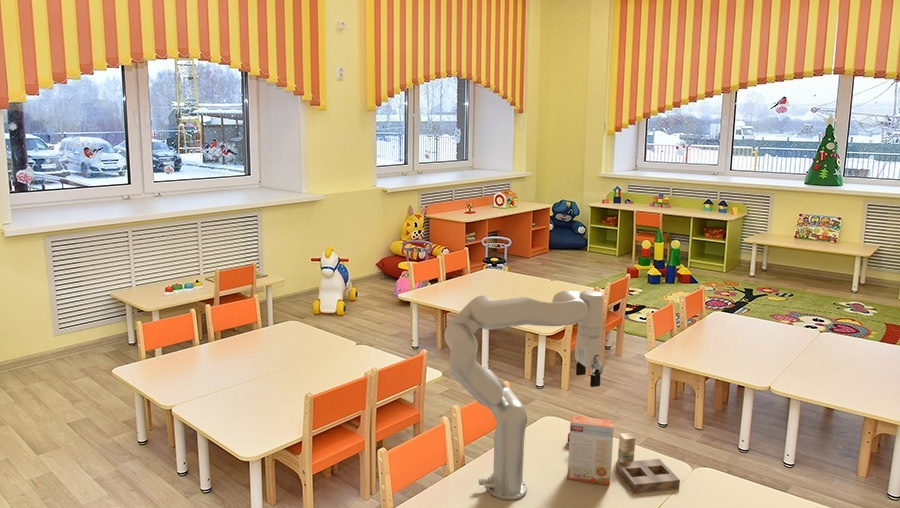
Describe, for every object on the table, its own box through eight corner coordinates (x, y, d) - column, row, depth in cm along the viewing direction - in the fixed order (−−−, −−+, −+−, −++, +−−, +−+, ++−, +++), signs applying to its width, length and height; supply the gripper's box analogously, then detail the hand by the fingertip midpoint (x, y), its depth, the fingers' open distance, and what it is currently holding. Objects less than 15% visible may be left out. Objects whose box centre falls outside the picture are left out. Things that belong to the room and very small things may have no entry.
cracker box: (610, 477, 238) (614, 419, 234) (609, 486, 232) (613, 427, 228) (568, 470, 242) (572, 414, 237) (566, 479, 236) (570, 421, 231)
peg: (622, 465, 246) (624, 439, 244) (617, 459, 250) (619, 433, 247) (633, 464, 247) (635, 438, 244) (628, 458, 250) (630, 432, 248)
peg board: (634, 492, 229) (634, 484, 228) (615, 470, 242) (616, 462, 241) (679, 488, 232) (679, 479, 231) (658, 466, 245) (659, 458, 245)
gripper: (566, 322, 230) (565, 371, 234) (592, 340, 214) (589, 392, 218) (587, 320, 233) (585, 369, 236) (614, 337, 216) (611, 389, 220)
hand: (587, 380), depth 227 cm, fingers open, 9 cm apart
